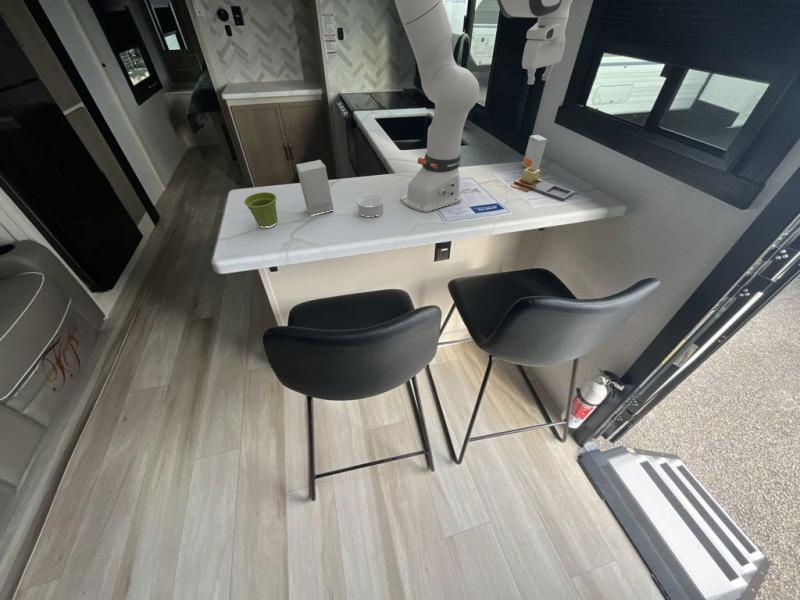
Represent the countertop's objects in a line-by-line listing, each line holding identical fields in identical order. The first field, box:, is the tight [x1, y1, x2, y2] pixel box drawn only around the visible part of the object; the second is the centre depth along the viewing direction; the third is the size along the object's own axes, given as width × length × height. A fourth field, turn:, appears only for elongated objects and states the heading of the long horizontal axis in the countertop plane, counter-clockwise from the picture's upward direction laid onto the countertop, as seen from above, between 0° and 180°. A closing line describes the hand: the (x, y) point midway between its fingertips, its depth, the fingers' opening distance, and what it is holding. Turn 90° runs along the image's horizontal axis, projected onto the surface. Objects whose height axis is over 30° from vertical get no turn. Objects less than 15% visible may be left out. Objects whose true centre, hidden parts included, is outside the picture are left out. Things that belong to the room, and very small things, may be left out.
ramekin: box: [356, 194, 384, 217], centre depth 108 cm, size 9×9×4 cm
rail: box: [510, 176, 575, 202], centre depth 120 cm, size 11×20×1 cm, turn 43°
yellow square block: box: [520, 167, 541, 186], centre depth 122 cm, size 4×4×6 cm
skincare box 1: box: [295, 159, 334, 216], centre depth 105 cm, size 8×7×16 cm
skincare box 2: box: [522, 134, 548, 170], centre depth 132 cm, size 6×4×12 cm
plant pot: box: [243, 191, 279, 227], centre depth 101 cm, size 9×9×9 cm
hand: (537, 82), depth 112 cm, fingers open, 8 cm apart
